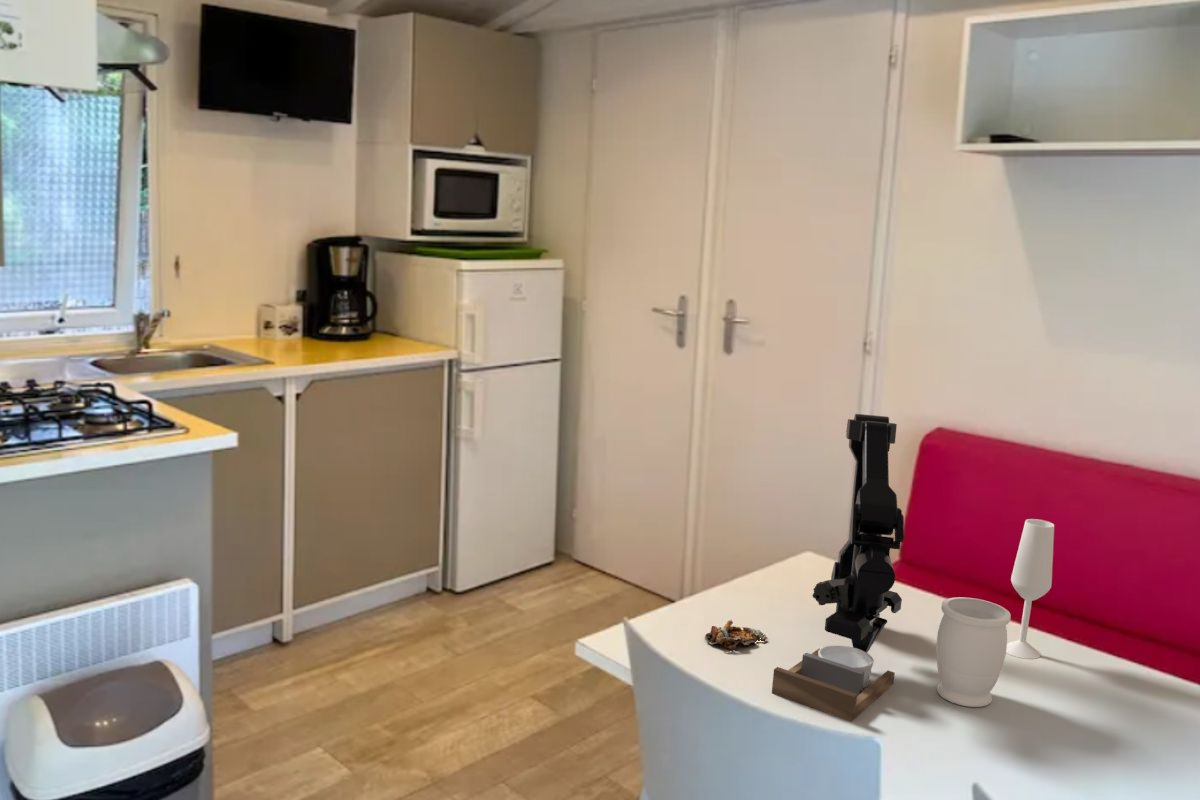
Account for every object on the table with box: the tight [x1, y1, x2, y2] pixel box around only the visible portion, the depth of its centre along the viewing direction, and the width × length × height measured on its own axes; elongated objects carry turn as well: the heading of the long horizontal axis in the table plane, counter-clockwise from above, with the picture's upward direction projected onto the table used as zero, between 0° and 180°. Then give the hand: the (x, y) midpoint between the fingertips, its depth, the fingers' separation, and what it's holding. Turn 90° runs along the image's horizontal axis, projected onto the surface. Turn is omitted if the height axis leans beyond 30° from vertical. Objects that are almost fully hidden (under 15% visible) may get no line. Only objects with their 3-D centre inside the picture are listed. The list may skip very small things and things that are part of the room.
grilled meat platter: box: [704, 619, 767, 655], centre depth 184 cm, size 7×12×4 cm, turn 130°
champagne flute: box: [1006, 518, 1055, 660], centre depth 186 cm, size 7×7×24 cm
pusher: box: [801, 652, 864, 696], centre depth 167 cm, size 2×10×4 cm, turn 54°
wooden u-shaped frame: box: [771, 647, 896, 722], centre depth 168 cm, size 17×13×4 cm
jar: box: [936, 596, 1012, 708], centre depth 167 cm, size 11×10×15 cm
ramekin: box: [818, 644, 875, 689], centre depth 171 cm, size 9×9×4 cm
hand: (859, 659), depth 176 cm, fingers closed
